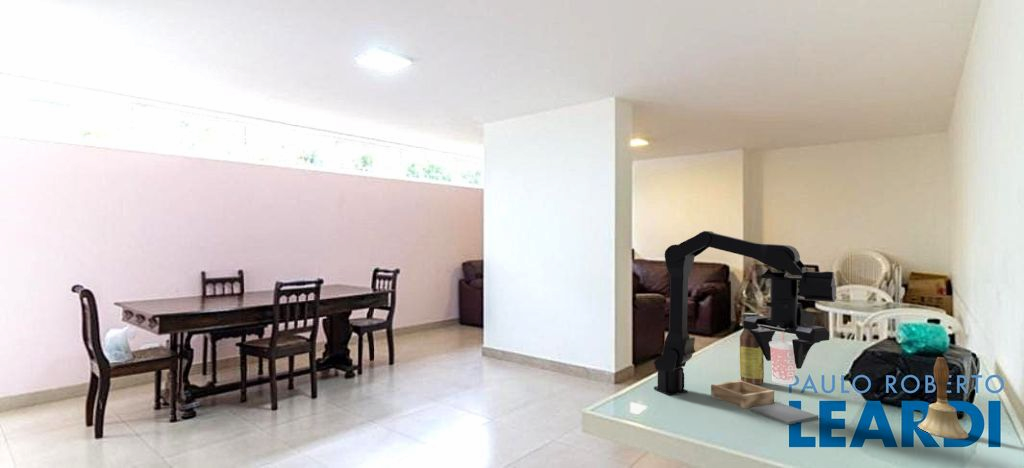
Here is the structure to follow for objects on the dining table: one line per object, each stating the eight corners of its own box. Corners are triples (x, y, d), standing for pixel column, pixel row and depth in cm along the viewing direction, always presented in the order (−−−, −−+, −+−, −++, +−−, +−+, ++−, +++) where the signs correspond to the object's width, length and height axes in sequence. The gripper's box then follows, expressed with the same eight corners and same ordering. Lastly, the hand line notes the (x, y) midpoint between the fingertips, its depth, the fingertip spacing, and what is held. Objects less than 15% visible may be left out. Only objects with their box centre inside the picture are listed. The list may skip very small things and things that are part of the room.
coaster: (788, 424, 112) (788, 421, 112) (750, 410, 121) (750, 408, 121) (818, 418, 116) (818, 415, 116) (779, 405, 126) (779, 402, 126)
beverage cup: (776, 385, 116) (776, 324, 116) (764, 377, 122) (764, 319, 122) (803, 385, 116) (803, 324, 116) (790, 378, 122) (790, 320, 122)
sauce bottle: (768, 386, 142) (767, 315, 142) (745, 385, 142) (745, 315, 142) (757, 379, 148) (757, 311, 149) (735, 379, 148) (735, 311, 149)
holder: (744, 408, 123) (744, 396, 123) (711, 396, 133) (711, 384, 133) (774, 402, 127) (774, 390, 127) (740, 391, 137) (740, 380, 137)
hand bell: (957, 442, 103) (956, 363, 103) (910, 428, 110) (909, 355, 111) (976, 435, 107) (975, 359, 107) (929, 422, 114) (928, 351, 114)
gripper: (845, 301, 114) (845, 370, 114) (773, 292, 131) (772, 353, 131) (812, 303, 109) (812, 376, 109) (741, 294, 126) (741, 356, 126)
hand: (783, 364), depth 119 cm, fingers closed on beverage cup, 7 cm apart
